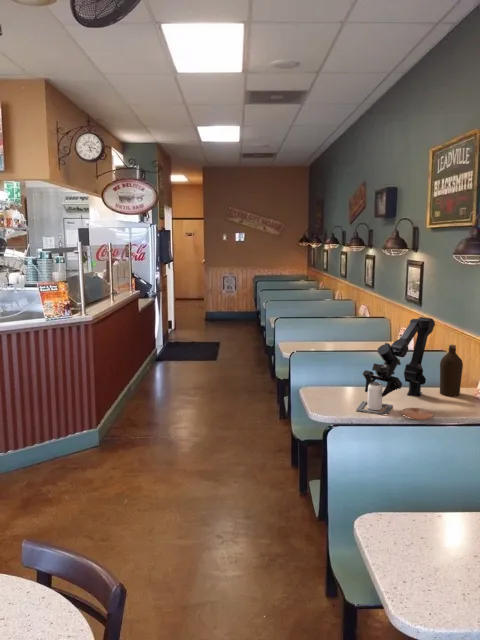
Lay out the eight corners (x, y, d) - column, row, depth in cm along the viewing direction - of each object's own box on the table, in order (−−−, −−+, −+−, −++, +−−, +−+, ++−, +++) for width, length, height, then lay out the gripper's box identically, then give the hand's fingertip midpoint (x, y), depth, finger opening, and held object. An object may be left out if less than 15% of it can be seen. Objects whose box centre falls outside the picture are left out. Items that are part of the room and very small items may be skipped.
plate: (404, 408, 250) (404, 406, 250) (433, 412, 245) (434, 409, 245) (399, 417, 239) (399, 414, 238) (430, 421, 233) (431, 418, 233)
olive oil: (464, 397, 266) (467, 347, 262) (442, 396, 267) (444, 347, 263) (456, 390, 277) (459, 343, 273) (435, 390, 278) (438, 342, 273)
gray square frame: (362, 402, 260) (362, 401, 260) (392, 406, 254) (392, 404, 254) (356, 411, 247) (356, 409, 247) (387, 415, 241) (387, 414, 241)
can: (382, 411, 247) (383, 385, 245) (367, 410, 248) (368, 385, 246) (381, 406, 253) (382, 382, 251) (367, 406, 254) (367, 381, 252)
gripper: (365, 353, 256) (350, 380, 251) (399, 360, 242) (384, 388, 237) (375, 366, 263) (360, 393, 257) (408, 374, 249) (393, 402, 243)
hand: (373, 394), depth 249 cm, fingers open, 9 cm apart
